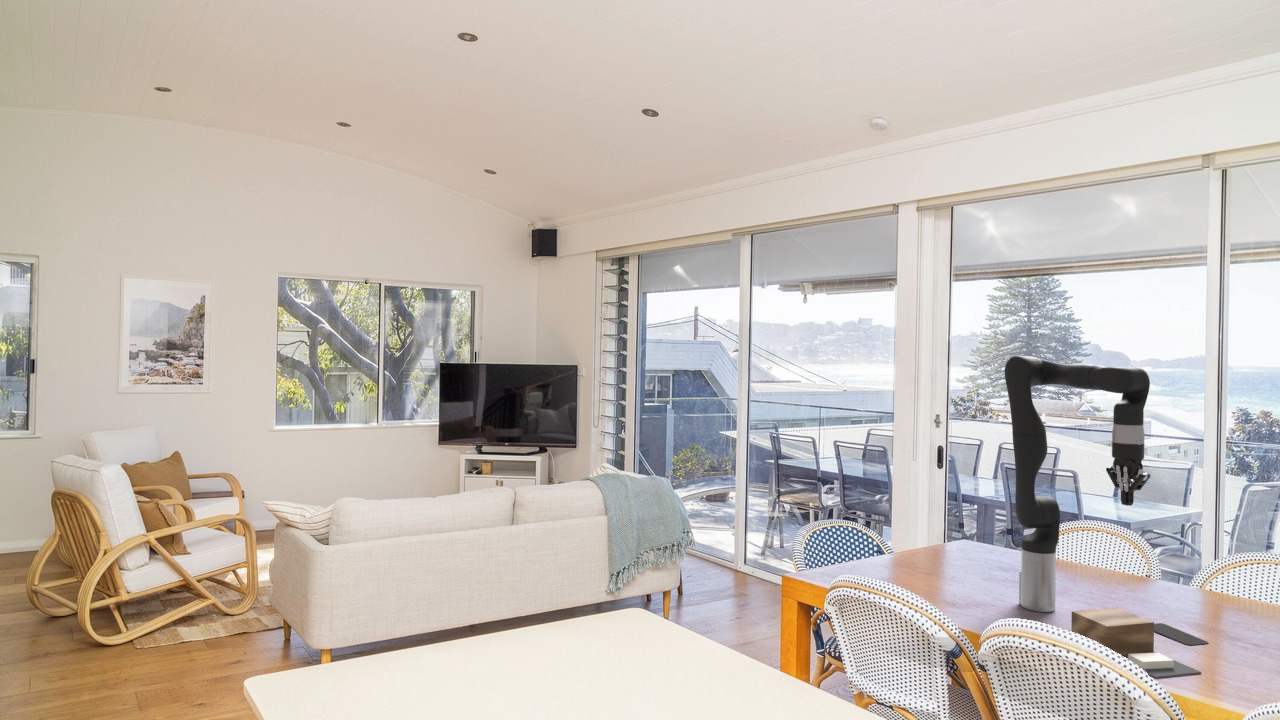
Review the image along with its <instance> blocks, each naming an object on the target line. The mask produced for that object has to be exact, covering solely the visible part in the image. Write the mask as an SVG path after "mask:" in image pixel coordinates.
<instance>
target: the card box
mask: <svg viewBox="0 0 1280 720" xmlns="http://www.w3.org/2000/svg"><path fill="white" fill-rule="evenodd" d="M1128 659H1129V660H1131V661H1132V662H1134V663H1135V664H1137V665H1138V666H1139V667H1140V668H1142V669H1143V670H1147V669H1169V668H1174V659H1172V658H1170V657H1168V656H1165V655H1164V654H1162V653H1159V652H1156V653H1138V654H1128Z"/></svg>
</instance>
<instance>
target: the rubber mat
mask: <svg viewBox="0 0 1280 720" xmlns="http://www.w3.org/2000/svg"><path fill="white" fill-rule="evenodd" d="M1151 653H1157V652H1156V651H1154V652H1151ZM1122 656H1124V657H1126V658H1128V655H1122ZM1173 660H1174V659H1173ZM1145 671H1146V672H1147V673H1148V674H1150V675H1151V676H1150V677H1152V678H1154V679H1156V680H1157V679H1164V678H1172V677H1174V678H1175V677H1182V676H1192V675H1200V674H1202V671H1199V670H1198V669H1195V668H1193V667H1191V666H1189V665H1186V664H1184V663H1181V662H1179V661H1177V660H1174V668H1169V669H1147V670H1145Z"/></svg>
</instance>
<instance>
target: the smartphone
mask: <svg viewBox="0 0 1280 720" xmlns="http://www.w3.org/2000/svg"><path fill="white" fill-rule="evenodd" d="M1154 634H1158V635H1160V636H1161V637H1165V638H1167V639H1169V640H1173V641H1175V642H1177V643H1180V644H1181V645H1185V646H1190V647H1192V646H1203V645H1209V642H1208V641H1207V640H1205V639H1202V638H1199V637H1197V636H1196V635H1193V634H1191V633H1190V634H1189V632H1188V633H1187V632H1186V631H1183V630H1180V629H1177V628H1175V627H1173V626H1171V625H1168V624H1166V623H1161V622H1159V623H1158V622H1157V623H1154Z"/></svg>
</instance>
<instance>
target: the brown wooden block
mask: <svg viewBox="0 0 1280 720" xmlns="http://www.w3.org/2000/svg"><path fill="white" fill-rule="evenodd" d="M1154 624H1155V622H1154V621H1152V620H1149V619H1146V618H1144V617H1142V616H1138V615H1136V614H1134V613H1131V612H1128V611H1126V610H1123V609H1121V608H1119V607H1108V608H1097V609H1096V608H1095V609H1084V610H1082V609H1081V610H1073V611H1071V629H1070V630H1071V631H1072V632H1075V633H1078V634H1080V635H1083V636H1085V637H1088V638H1090V639H1092V640H1095V641H1097V642H1099V643H1100V644H1102V645H1104V646H1106V647H1108V648H1110V649H1112V650H1113V651H1115V652H1117V653H1119V654H1121V655H1128V654H1138V653H1151V652H1155V645H1154V643H1155V633H1154Z"/></svg>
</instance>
